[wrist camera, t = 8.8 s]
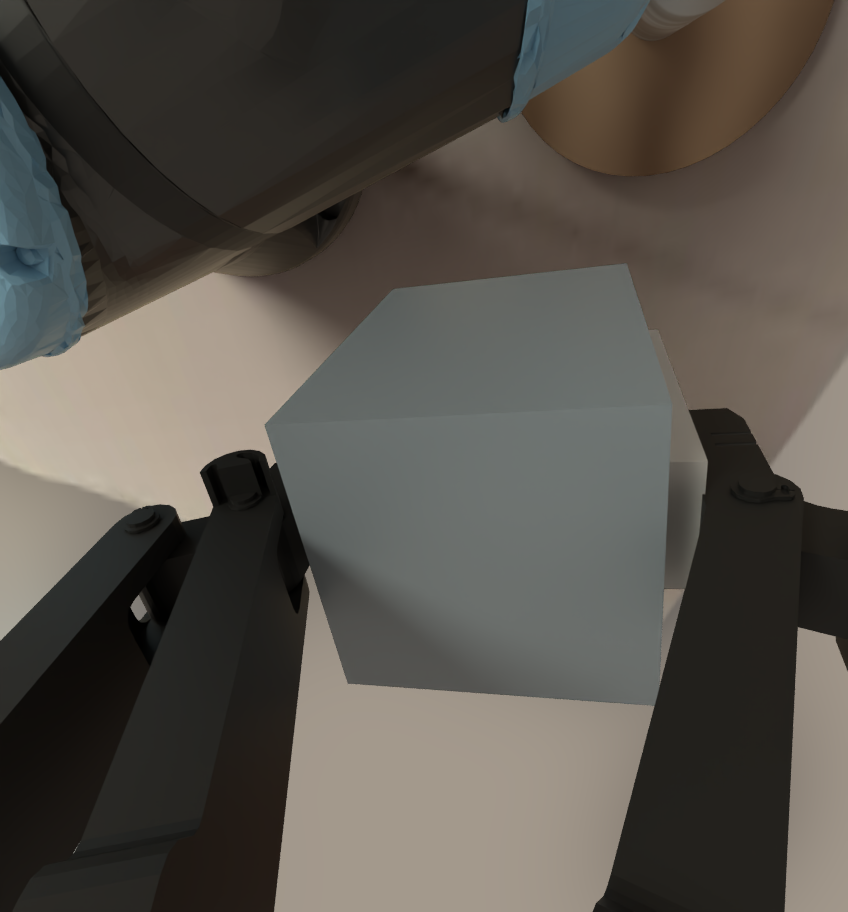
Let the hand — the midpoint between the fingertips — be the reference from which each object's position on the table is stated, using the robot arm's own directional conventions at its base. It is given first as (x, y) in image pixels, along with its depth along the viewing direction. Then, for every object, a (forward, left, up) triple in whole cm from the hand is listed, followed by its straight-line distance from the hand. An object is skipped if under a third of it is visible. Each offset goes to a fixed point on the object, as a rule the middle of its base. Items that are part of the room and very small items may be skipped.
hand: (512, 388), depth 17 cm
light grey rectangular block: (0, 0, 0) cm, 0 cm away
